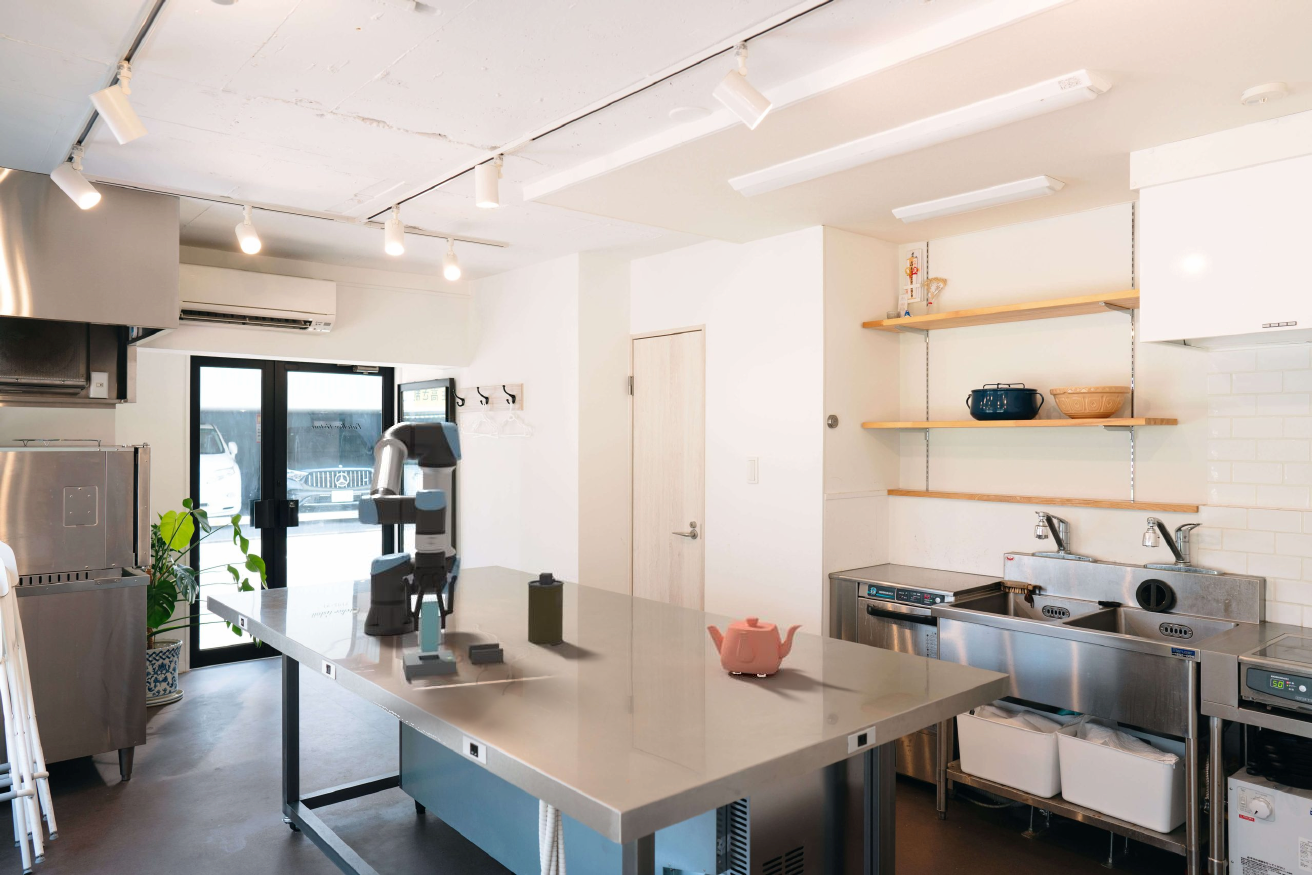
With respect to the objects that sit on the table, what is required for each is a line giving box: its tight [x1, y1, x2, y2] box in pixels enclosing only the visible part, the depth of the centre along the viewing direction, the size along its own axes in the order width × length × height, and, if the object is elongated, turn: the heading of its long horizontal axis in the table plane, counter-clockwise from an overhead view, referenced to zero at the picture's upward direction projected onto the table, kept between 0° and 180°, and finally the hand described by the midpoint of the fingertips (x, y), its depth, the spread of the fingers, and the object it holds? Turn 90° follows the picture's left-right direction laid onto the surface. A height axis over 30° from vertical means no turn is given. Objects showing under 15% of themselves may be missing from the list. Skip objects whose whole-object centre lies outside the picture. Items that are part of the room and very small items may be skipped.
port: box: [402, 649, 457, 681], centre depth 212 cm, size 12×12×4 cm
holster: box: [467, 642, 504, 665], centre depth 222 cm, size 7×8×4 cm
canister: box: [527, 572, 565, 646], centre depth 245 cm, size 11×10×20 cm
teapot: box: [706, 616, 803, 675], centre depth 214 cm, size 18×18×14 cm
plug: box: [419, 600, 440, 653], centre depth 212 cm, size 4×4×12 cm
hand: (429, 642), depth 212 cm, fingers closed on plug, 4 cm apart
